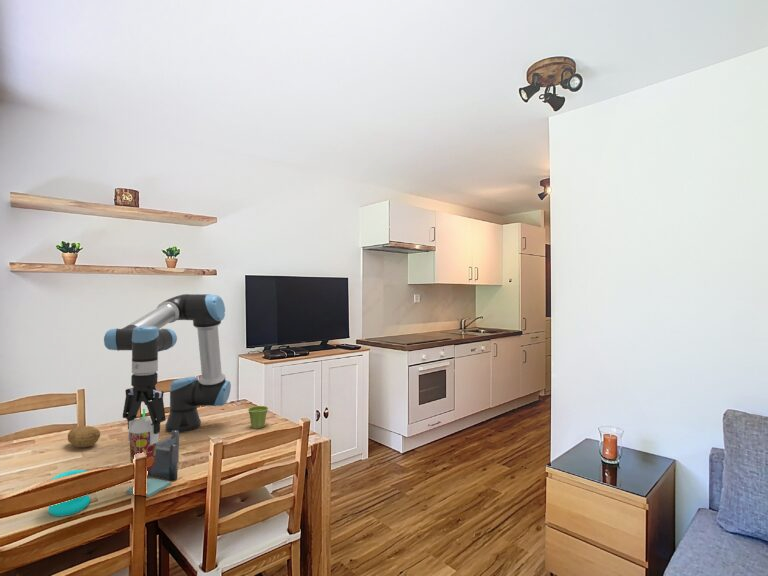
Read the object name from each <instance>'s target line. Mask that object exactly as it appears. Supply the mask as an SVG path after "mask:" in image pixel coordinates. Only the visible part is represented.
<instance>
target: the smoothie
mask: <svg viewBox="0 0 768 576" xmlns="http://www.w3.org/2000/svg"><path fill="white" fill-rule="evenodd" d="M136 419H137V420H136V421H135V422H134V423H133V424H132V426H131V428H130V429H129V430H128V441H129V440H130V441H129V458H130V464H131V463H133V459H134V455H135V454H137V453H142V452H144V453H146V455H147V471H149V470H151V469H152V468H153V465H154V464H155V454H156V443H155V444H152V445H150V424H152V420H151V417H150V416H146V408H143V409H142V416H141V417H139V418H136Z"/></svg>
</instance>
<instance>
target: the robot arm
mask: <svg viewBox="0 0 768 576" xmlns="http://www.w3.org/2000/svg"><path fill="white" fill-rule="evenodd" d="M225 313H226V306H225V302H224V301H223V299H222V297H221V296H220V295H217V294H209V293H208V294H199V293H198V294H197V293H196V294H194V293H193V294H189V293H185V294H180V295H177V296H173V297H171V298H168V299H165V300H164V301H162V302H161V303H159V304H158V305H157V307H156V308H155V309H153V310H151V311H150V312H148V313H147V314H145V315H143V316H141V317H140V318H138V319H136V320H135V321H133V322H131V323H130V324H128V325H126V326H125V327H123V328H110V329H108V330H107V331H106V332H105V333H104V336H103V342H104V343H103V344H104V347H105V348H106V349H107V350H110V351H117V352H119V351H131V373H132V374H131V379H130V381H131V382H130V383H131V384H130V385H131V386H132V387H130V388H125V400H124V405H123V410H122V411H123V413H122V418H123V419H125V420H126V421H127V430H128V431H129V429H130V428H131V426H132V424H133V423H134V422H135V421H136V420H137V419H138V412H139V410H140V407H141V405H142V403H144V405H145V406H146V408H147V411H148V414H149V417H150V418H151V420H152V424H150V445H152V444H155V443H157V442H160V441H159V438H160V437H159V436H160V435H159V434H160V432H161V423H162V422H163V423H164V422H165V421H166V423H165V427H164V429H165V431H166V432H168V433H171V431H172V430H179V434H180V433H188V432H191V431H195V430H197V429H199V428H200V427H201V425H202V421H201V418H200V414H199V412H198V411H199V410H198V407H203V406H204V407H216V406H217V407H221V406H224V405H226V404H227V402H228V400H229V397H230V393H231V387H232V384H231V381H229V380H226V376H225V374H224V373H222V362H221V351H220V350H221V349H220V339H219V338H220V337H219V326H220V325H221V324H222V321H223V320H224V319H225V316H226V314H225ZM176 321H192V325H193V327H194V328H196V329H197V336H198V337H197V338H198V348H199V349H198V350H199V359H200V362H199V363H200V370H201V376H200V377H199V378H198V376H187V377H182V378H179V379H175V380H173V381H172V382H171V384H170V387H169V388H170V389H169V415H168V416H167V418H166V412H165V411H166V410H165V404H164V391H163V390H157V389H156V385H157V384H158V379H159V377H158V373H157V372H158V370H159V369H158V368H159V367H158V365H159V364H158V363H159V360H158V359H159V353H160V352H163V351H168V350H169V349H171V348H173V347H174V346H176V345H177V344H176V343H177V341H178V336H177V334H176V332H175V331H174V330H172V329H171V328H163V327H164V326H166V325H168V324H171V323H172V324H173V323H174V322H176ZM166 419H167V420H166ZM128 442H130V440H129V439H128Z"/></svg>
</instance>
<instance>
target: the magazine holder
mask: <svg viewBox="0 0 768 576" xmlns="http://www.w3.org/2000/svg"><path fill="white" fill-rule="evenodd" d="M170 433H171V435H170V436H169V437H167V438H164V439H162V440H160V441H159V442H157V443H156V454H155V464H154V465H153V468H152V469H151V470H149V471H148V476H147V477H150V478H155V479H160V480H165V481H169V482H173V481H176V480H178V466H179V465H178V463H179V457H180V456H179V455H180V433H179V430H172V431H171V432H170Z"/></svg>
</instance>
